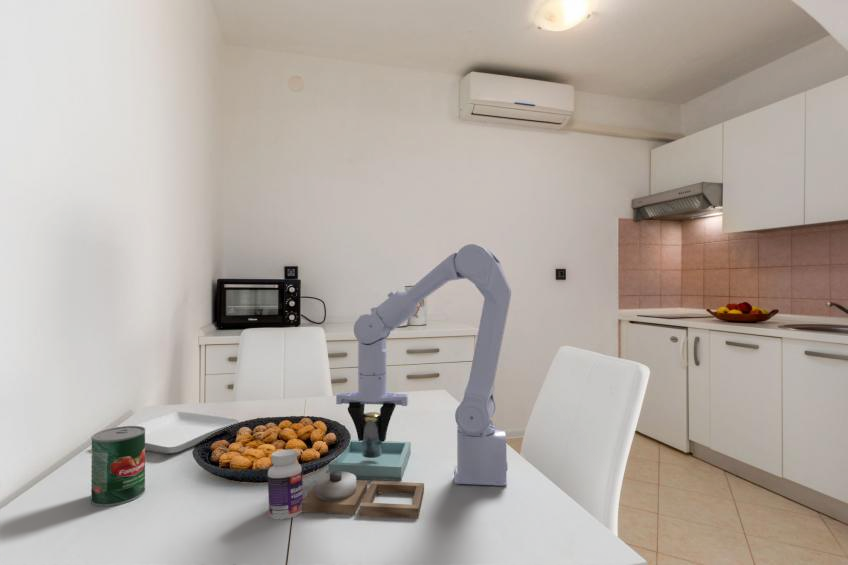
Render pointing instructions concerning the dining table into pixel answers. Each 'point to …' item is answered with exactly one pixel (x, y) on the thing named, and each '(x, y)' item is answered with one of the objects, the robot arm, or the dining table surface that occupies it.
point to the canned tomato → (118, 465)
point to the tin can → (371, 435)
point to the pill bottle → (285, 485)
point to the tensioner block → (360, 496)
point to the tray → (374, 461)
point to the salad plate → (181, 430)
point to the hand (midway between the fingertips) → (372, 439)
